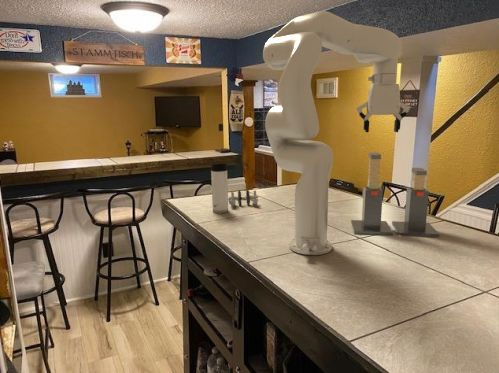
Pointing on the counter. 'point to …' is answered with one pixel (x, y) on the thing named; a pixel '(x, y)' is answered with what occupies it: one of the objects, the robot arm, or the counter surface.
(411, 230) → the sleeve
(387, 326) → the counter surface
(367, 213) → the sleeve
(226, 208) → the travel mug
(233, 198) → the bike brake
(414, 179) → the column
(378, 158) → the column
